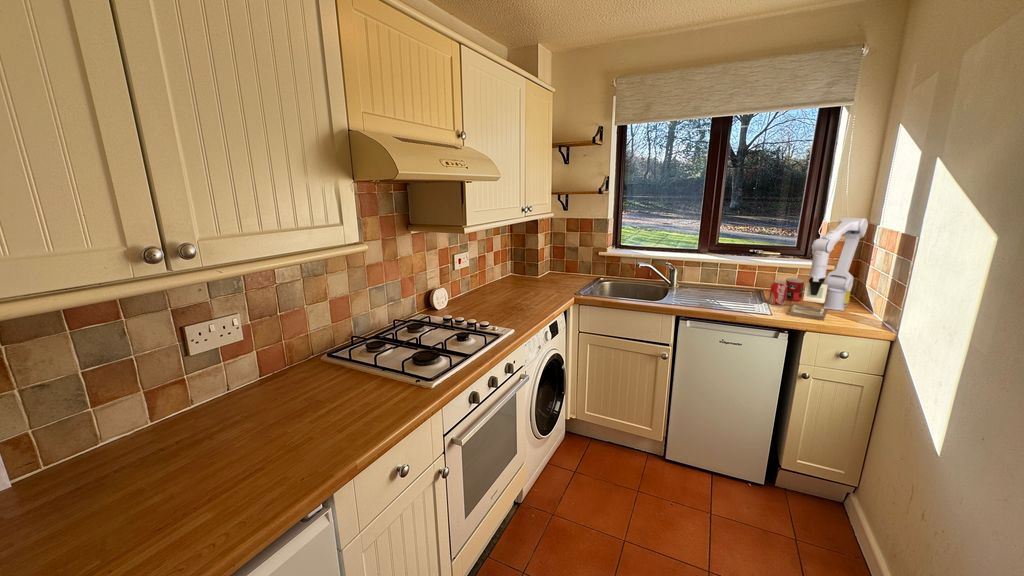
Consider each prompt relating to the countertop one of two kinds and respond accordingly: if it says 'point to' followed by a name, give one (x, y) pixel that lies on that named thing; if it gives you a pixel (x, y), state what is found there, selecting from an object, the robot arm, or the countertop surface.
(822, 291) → the picture frame
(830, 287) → the robot arm
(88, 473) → the countertop surface
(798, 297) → the canned food
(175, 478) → the countertop surface
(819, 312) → the notched board
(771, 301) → the soda can
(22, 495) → the countertop surface
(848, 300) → the pill bottle
